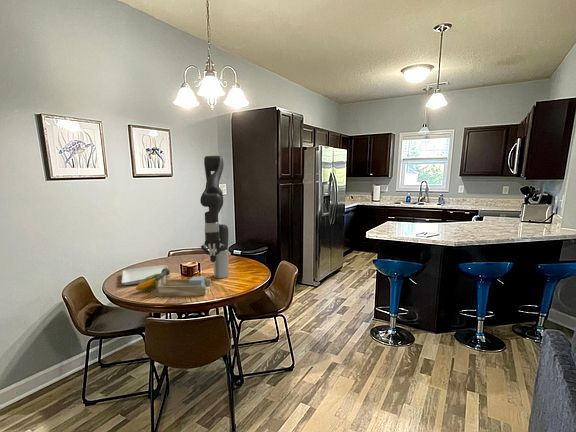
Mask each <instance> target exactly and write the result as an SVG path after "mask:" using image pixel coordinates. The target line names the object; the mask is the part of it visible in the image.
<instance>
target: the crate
mask: <svg viewBox="0 0 576 432" xmlns="http://www.w3.org/2000/svg"><path fill="white" fill-rule="evenodd" d="M189 279H190V280H189V286H198V285H205V281H204V279H206V277H205V276H203V275H201V276H192V277H191V278H189Z"/></svg>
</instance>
